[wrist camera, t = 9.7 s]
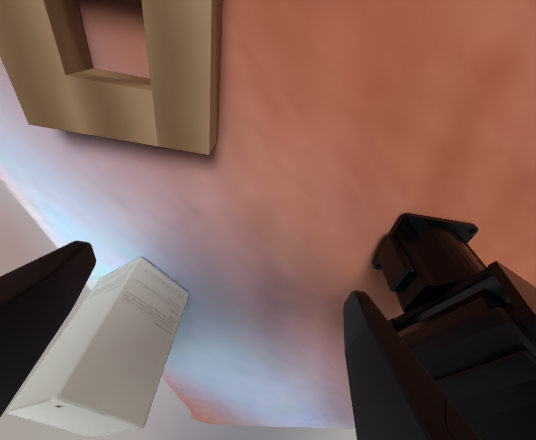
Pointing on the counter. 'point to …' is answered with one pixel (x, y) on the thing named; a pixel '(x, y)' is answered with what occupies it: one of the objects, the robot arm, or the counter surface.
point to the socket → (116, 84)
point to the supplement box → (108, 355)
